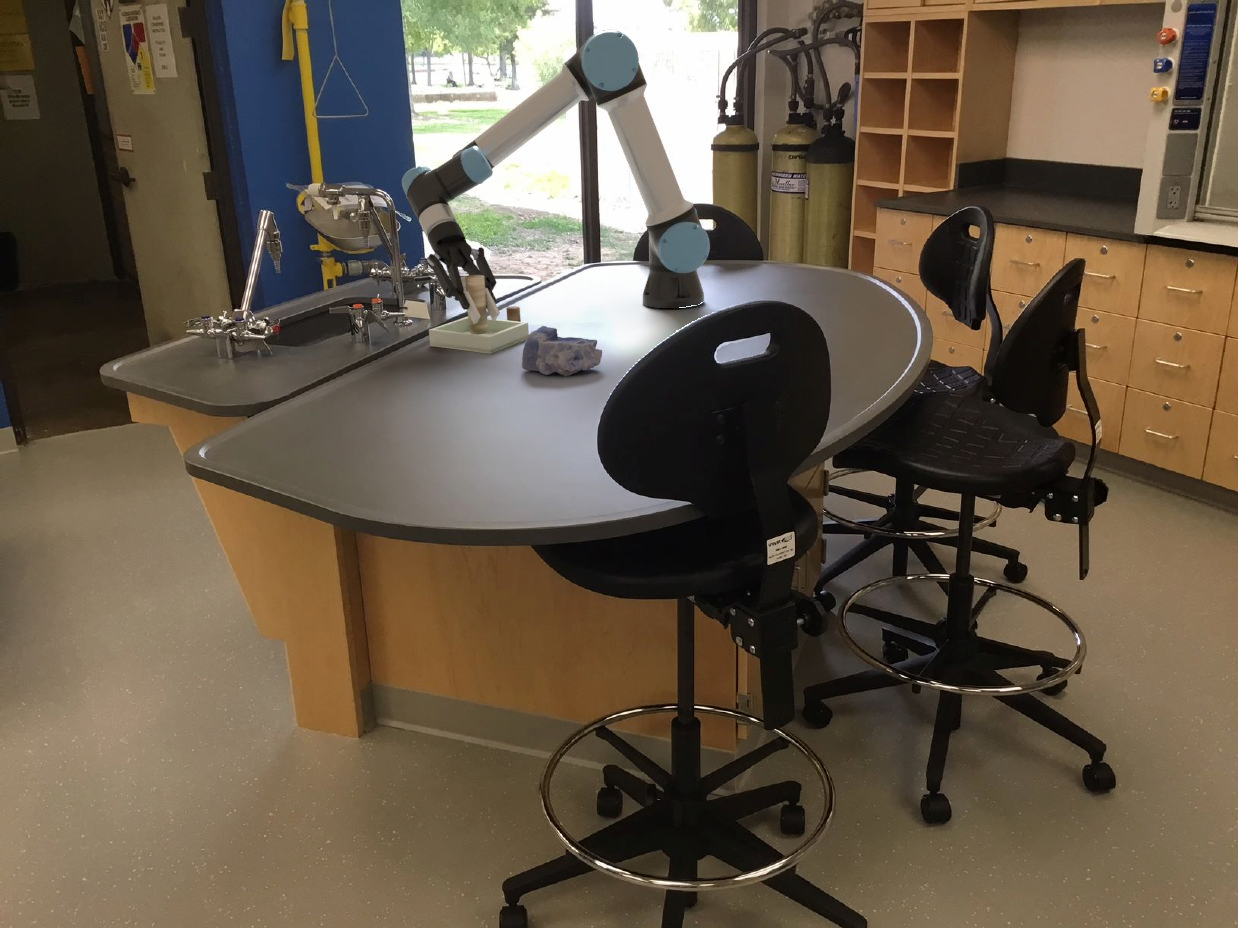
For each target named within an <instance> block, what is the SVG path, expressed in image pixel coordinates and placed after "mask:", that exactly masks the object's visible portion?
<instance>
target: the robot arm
mask: <svg viewBox="0 0 1238 928" xmlns="http://www.w3.org/2000/svg"><path fill="white" fill-rule="evenodd" d="M639 60H640V57H639V52H638V50H637V47H636V45H635V43H634V42H633V40H632V39H631V38H629V36H627V35H626V34H625V33H623V32H621V31H620V30H619V31H618V30H615V29H603V30H600V31H597V32H596V33H594V34H593V35H591V36H590V37H588V38H587V40H586V41H585V42H584V43H583V44H582V45H581V47H580V48H579V49H578V50H577V51H576V52H575V53H574V54H573V55H572V56H571V57H570V58H569V59H568V60H566V61H565V62H563V64H562V66H561V71H560V72H559V73H557V74H556V75H555V76H554V77H552V78H551V79H550V80H548V81H547V82H546V83H545V84H543V85H542V86H541V87H540V88H538V89H537V90H536V91H535V92H533V93H532V94H530V96H528V97H526V99H524V100H523V101H522V102H521V103H519V104H518V105H516V106H515V107H514V108H512V109H511V110H509V112H507V113H506V114H505V115H504V116H503V117H501V118H500V119H499V120H497V121H496V122H494V123H493V125H491V126H490V127H488V128H487V129H486V130H485V131H483V132H482V133H480V135H478V136H477V137H475V138H474V140H472V141H470V142H469V143H468V144H467V145H465V146H464V147H463V148H462V149H460V150H458V151H457V152H455V153H454V154H453V156H452V158H450V159H449V160H448V161H445V162H444V163H443V164H441V165H439V166H438V167H436V168H434V169H432V170H431V168H430V167H428V166H426V165H419V166H417V167H412V168H411V169H408V171H406V172H405V174H403V176H402V179H401V186H402V189H403V191H404V194H405V196H406V197H405V198H406V200H407V201H408V203H409V205H410V207H411V208H412V211H413V213H414V214H415V217H416V218H417V221H418V223H419V225H420V226H421V229H422V230H423V232H424V235H425V236H426V238H427V241H428V243H429V245H430V248H431V249H432V251H433V252H434V254H433V253H430V254H429V255H428V258H427V260H426V265H427V266H428V267H429V268H430V269H431V270H432V272H433V273H434V275H435V276H436V279H437V281H438V282H439V284H440V286H441V288H442V290H443V292H444V293H445V296H446V297H447V298H452V297H454V300H455V301H456V302H459V304H460V306H461V309H462V310H464V311H467V315H468V314H469V316H470V318H471V320H472V322H473V324H477V322H478V320H479V318H480V314H479V312H478V310H477V308H476V306H475V304H474V302H473V300H472V298H471V296H470V294H469V292H468V291H466V290H465V289H464V285H463V282H462V278H461V275H460V271H459V268H461V269H462V270H463V271H464V272H466V273H467V275H484V281H485V294H486V308H487V313H488V314H489V316H490V318H491V319H492V320H496V319H498V317H499V316H500V313H501V312H500V310H499V308H498V306H497V304H496V302H497V299H496V297H495V296H496V295H494V293H493V290H494V288H495V287H496V284H497V283H498V282H497V279H496V278H495V275H494V273H493V271H492V269H491V267H490V265H489V262H488V261H487V258H486V256H485V248H483V247H482V246H480V247H479V248H478V249H477V248H473V247H472V246H471V245H470V244H469V243H468V242H467V239H466V236H465V234H464V232H463V230H462V228H461V226H460V224H459V222H458V219H457V218H456V216H455V214H454V212H453V210H452V208H451V206H450V205H449V202H451V201H453V200H455V199H456V198H458V197H459V196H461V195H463V194H464V193H467V192H468V191H470V190H471V189H473V188H475V187H476V186H478V185H481V184H483V183H484V182H485V181H486V180H488V179H489V178H491V177H492V176H493V172H494V171H493V169H494V168H496V167H497V166H498V165H499V164H500V163H502V162H504V161H505V159H507V158H508V157H510V156H511V155H512V154H513V153H515V152H516V151H517V150H519V149H520V148H521V147H523V146H524V145H525V144H526V143H528V142H529V141H530V140H531V139H533V138H534V137H536V136H537V135H538V134H539V133H541V132H542V131H544V130H545V129H546V128H547V127H548V126H550V125H551V124H553V123H554V122H555V121H556V120H558V119H560V118H561V116H563V115H564V114H566V113H567V112H568V111H569V110H571V109H572V108H574V107H575V106H576V105H578V104H579V103H580V102H581V101H584V102H588V101H590V100H591V99H594V100H595V103H596V106H597V107H598V108H600V109H602V110H604V111H606V112H607V114H608V117H609V119H610V122H611V125H612V127H613V129H614V132H615V134H616V136H617V139H618V141H619V144H620V146H621V149H622V151H623V154H624V156H625V159H626V162H627V164H628V166H629V167H628V168H630V172H631V174H632V175H633V176H632V177H633V180H634V181H635V184H636V187H637V189H638V190H639V191H638V192H639V193H640V196H641V199H642V202H643V204H644V205H645V209H646V211H647V213H648V214H647V218H646V220H645V223H644V224H645V226H646V229H647V231H648V254H649V255H648V260H649V261H648V264H649V265H648V267H649V269H648V270H649V271H648V276H647V279H646V282H645V286H644V289H643V293H642V304H643V306H645V305H647V306H646V307H648V306H649V308H652V307H654V308H653V309H659V308H679V307H686V306H691V305H698V304H700V303H701V302H703V301H704V302H705V292H704V289H703V286H702V283H701V280H700V277H699V273H698V269H699V268H700V267H702V266H703V265H704V263H705V261H707V258H708V257H709V253H710V249H711V242H710V238H709V234H708V233H707V231H706V230H705V228H703V227H702V226H703V225H702V224H701V221H700V219H699V216H698V212H697V211H698V210H697V208H695V205H694V203H693V202H691V201H689V200H686V199H685V198H684V196H683V193H682V191H681V188H680V186H679V183H678V180H677V177H676V175H675V173H674V169H673V168H672V165H671V163H670V160H669V157H668V154H667V152H666V150H665V147H664V143H663V141H662V140H661V139H662V138H661V137H660V134H659V131H658V128H657V125H656V123H655V121H654V118H653V116H652V114H651V110H650V107H649V106H648V102H647V100H646V97H645V91H646V88H647V86H648V83H647V81H646V78H645V75H644V73H643V72H644V71H643V69H642V67H641V65H640V61H639ZM472 256H473V257H472ZM474 261H475V262H476V264H475V262H474ZM442 263H443V264H444V265H445V267H446V269H445V267H444V265H443V264H442ZM446 270H447V271H446Z"/></svg>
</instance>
